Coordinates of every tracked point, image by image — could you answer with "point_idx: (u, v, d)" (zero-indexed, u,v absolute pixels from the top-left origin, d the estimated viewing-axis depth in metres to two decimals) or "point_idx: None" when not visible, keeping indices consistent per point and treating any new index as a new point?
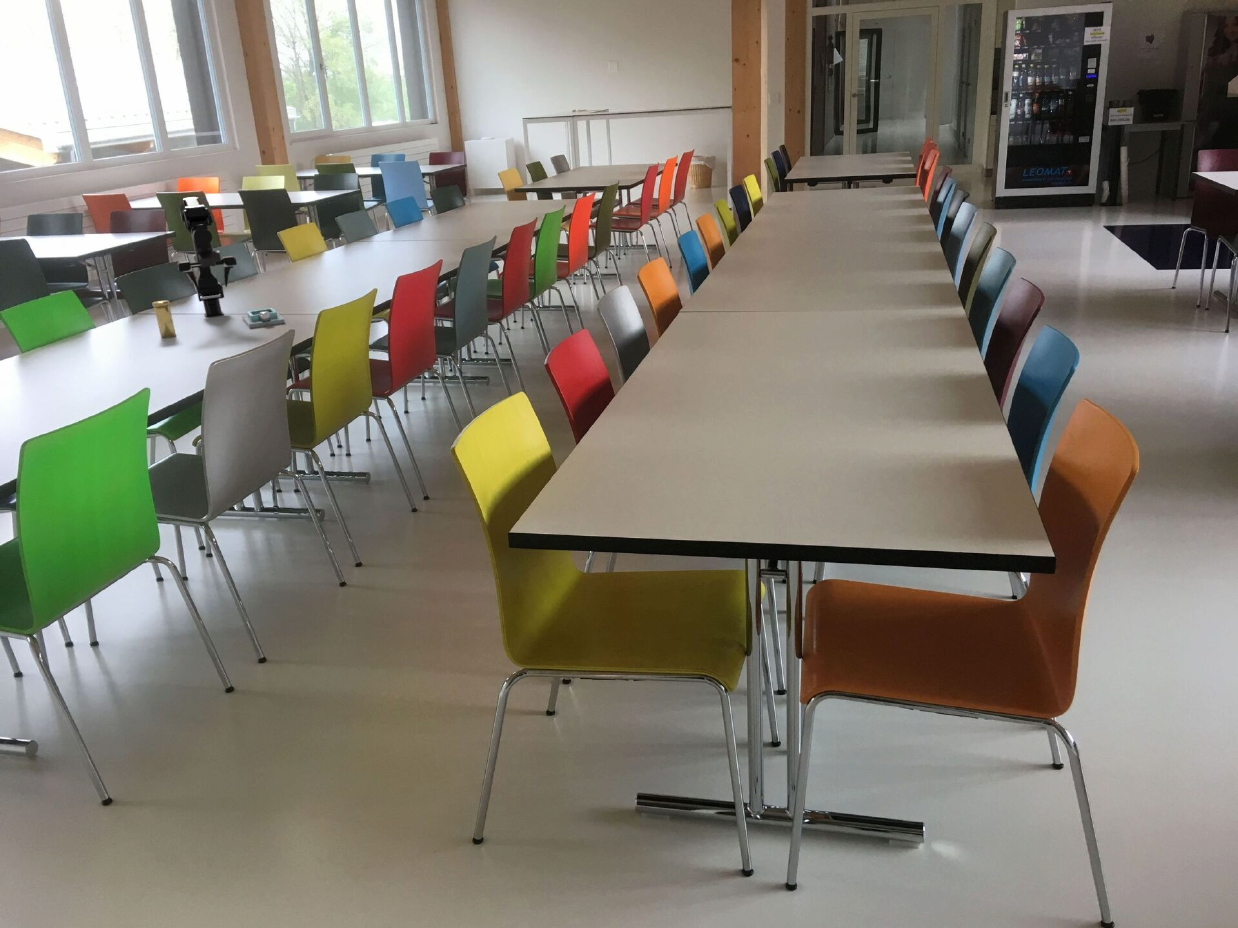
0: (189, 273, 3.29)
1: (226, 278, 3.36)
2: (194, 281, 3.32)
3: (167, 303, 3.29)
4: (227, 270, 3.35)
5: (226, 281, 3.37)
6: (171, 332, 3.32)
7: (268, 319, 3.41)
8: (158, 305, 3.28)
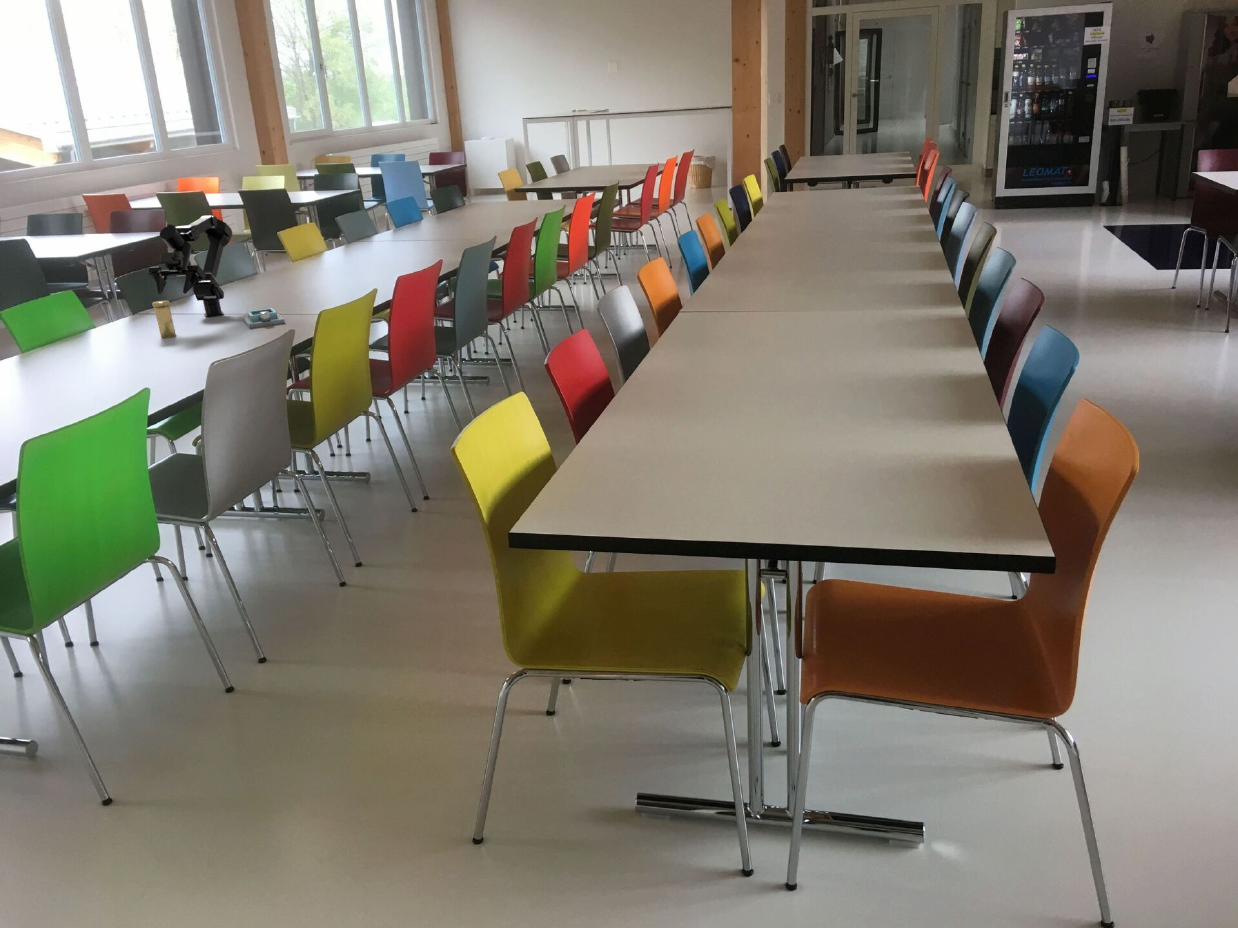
0: (154, 275, 3.37)
1: (185, 284, 3.36)
2: (157, 284, 3.37)
3: (167, 303, 3.29)
4: (188, 276, 3.36)
5: (185, 287, 3.36)
6: (171, 332, 3.32)
7: (268, 319, 3.41)
8: (158, 305, 3.28)
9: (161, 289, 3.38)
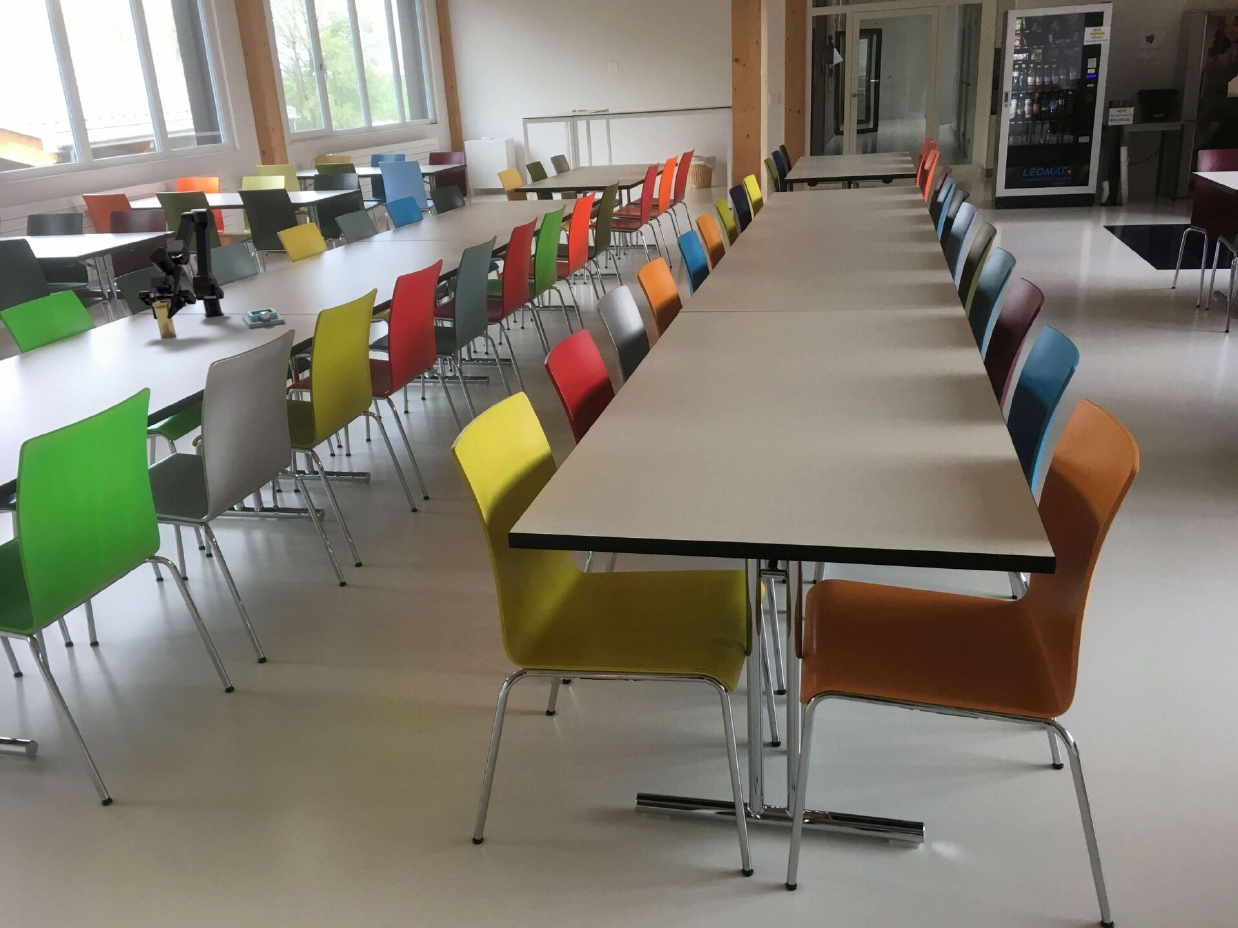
0: (150, 299, 3.31)
1: (170, 309, 3.30)
2: (153, 309, 3.31)
3: (167, 303, 3.29)
4: (173, 301, 3.31)
5: (170, 312, 3.30)
6: (171, 332, 3.32)
7: (268, 319, 3.41)
8: (158, 305, 3.28)
9: None
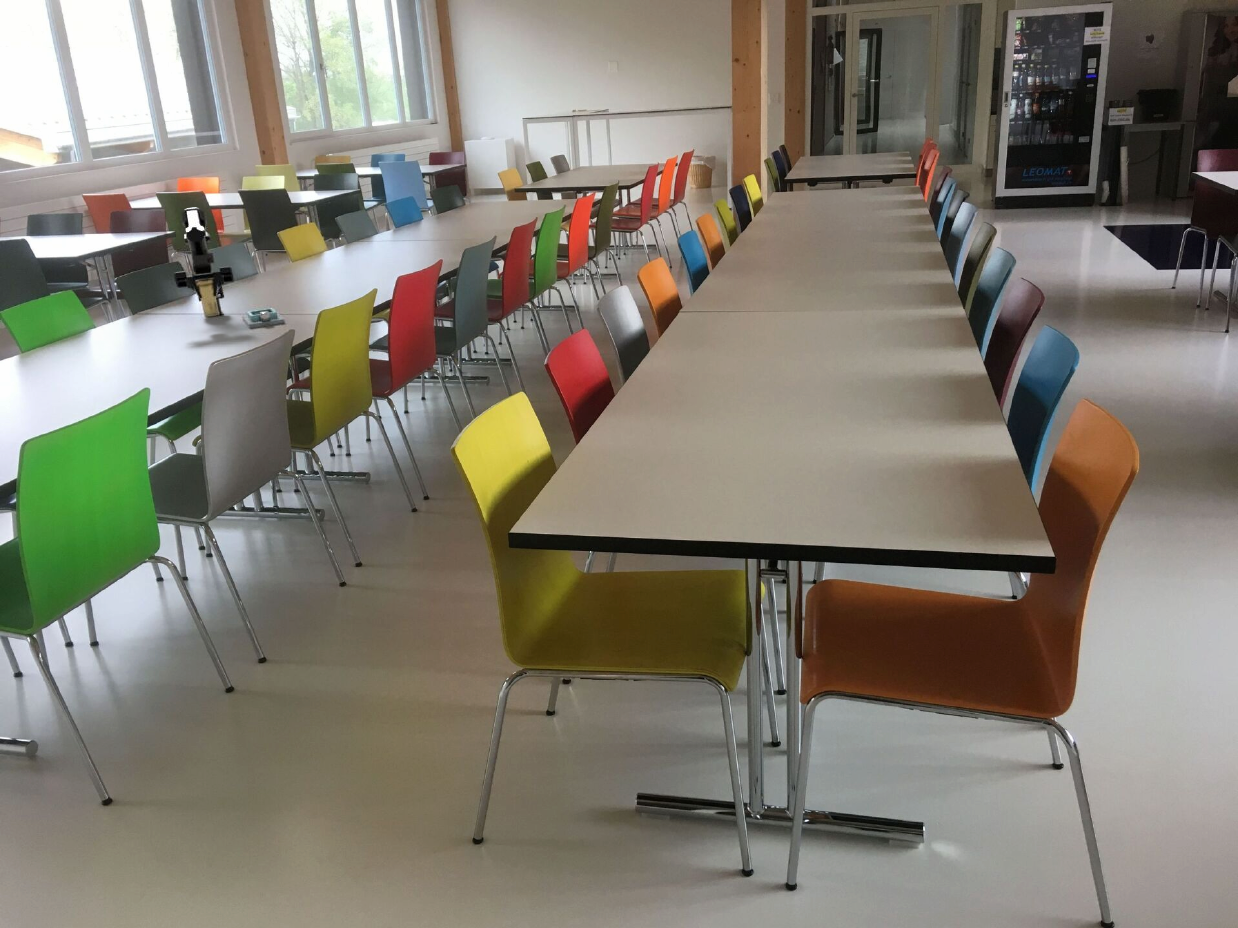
0: (190, 279, 3.30)
1: (215, 286, 3.33)
2: (195, 288, 3.31)
3: (212, 281, 3.31)
4: (216, 278, 3.33)
5: (215, 289, 3.32)
6: (217, 310, 3.34)
7: (268, 319, 3.41)
8: (206, 283, 3.29)
9: None
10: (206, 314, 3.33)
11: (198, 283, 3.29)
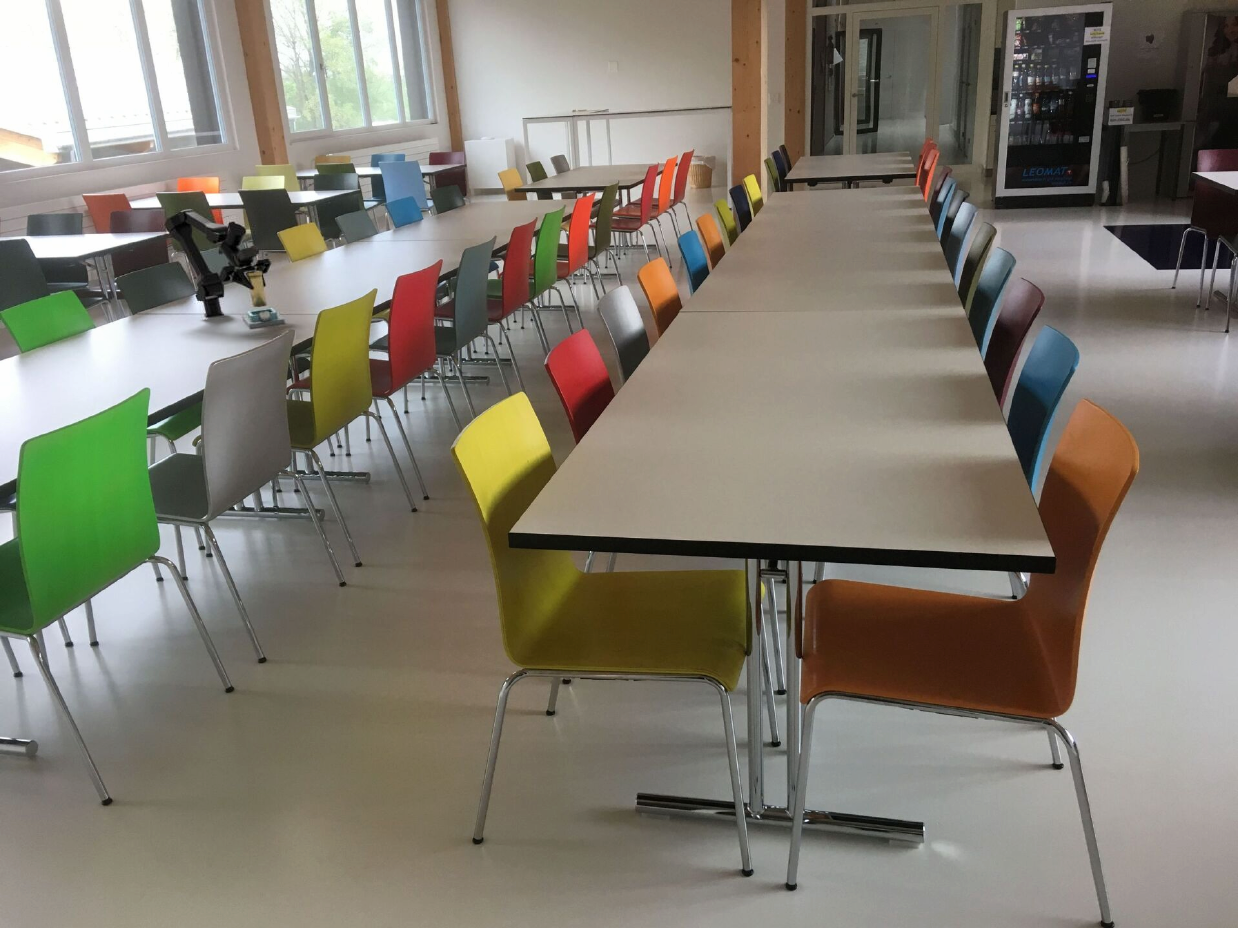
0: (240, 271, 3.39)
1: (262, 277, 3.45)
2: (246, 280, 3.40)
3: None
4: (260, 270, 3.45)
5: (263, 280, 3.45)
6: None
7: (268, 319, 3.41)
8: (259, 274, 3.41)
9: None
10: (258, 304, 3.44)
11: (252, 274, 3.39)
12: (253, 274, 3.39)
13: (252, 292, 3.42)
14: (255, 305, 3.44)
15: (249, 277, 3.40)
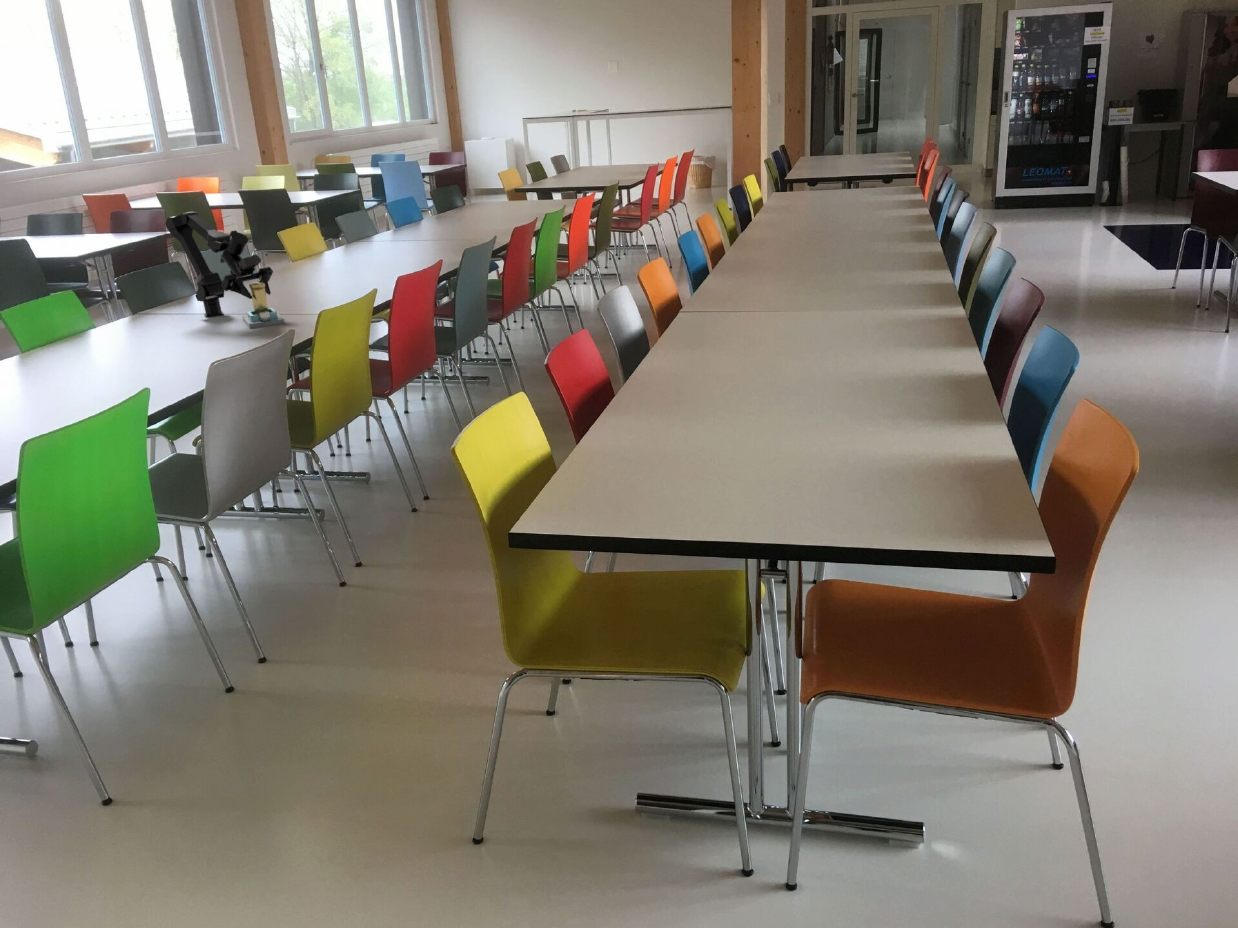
0: (239, 281, 3.39)
1: (267, 285, 3.47)
2: (245, 289, 3.40)
3: None
4: (265, 278, 3.48)
5: (268, 288, 3.47)
6: (268, 311, 3.48)
7: (268, 319, 3.41)
8: (262, 286, 3.42)
9: None
10: None
11: (255, 286, 3.41)
12: (256, 286, 3.41)
13: (255, 304, 3.44)
14: None
15: (252, 289, 3.42)
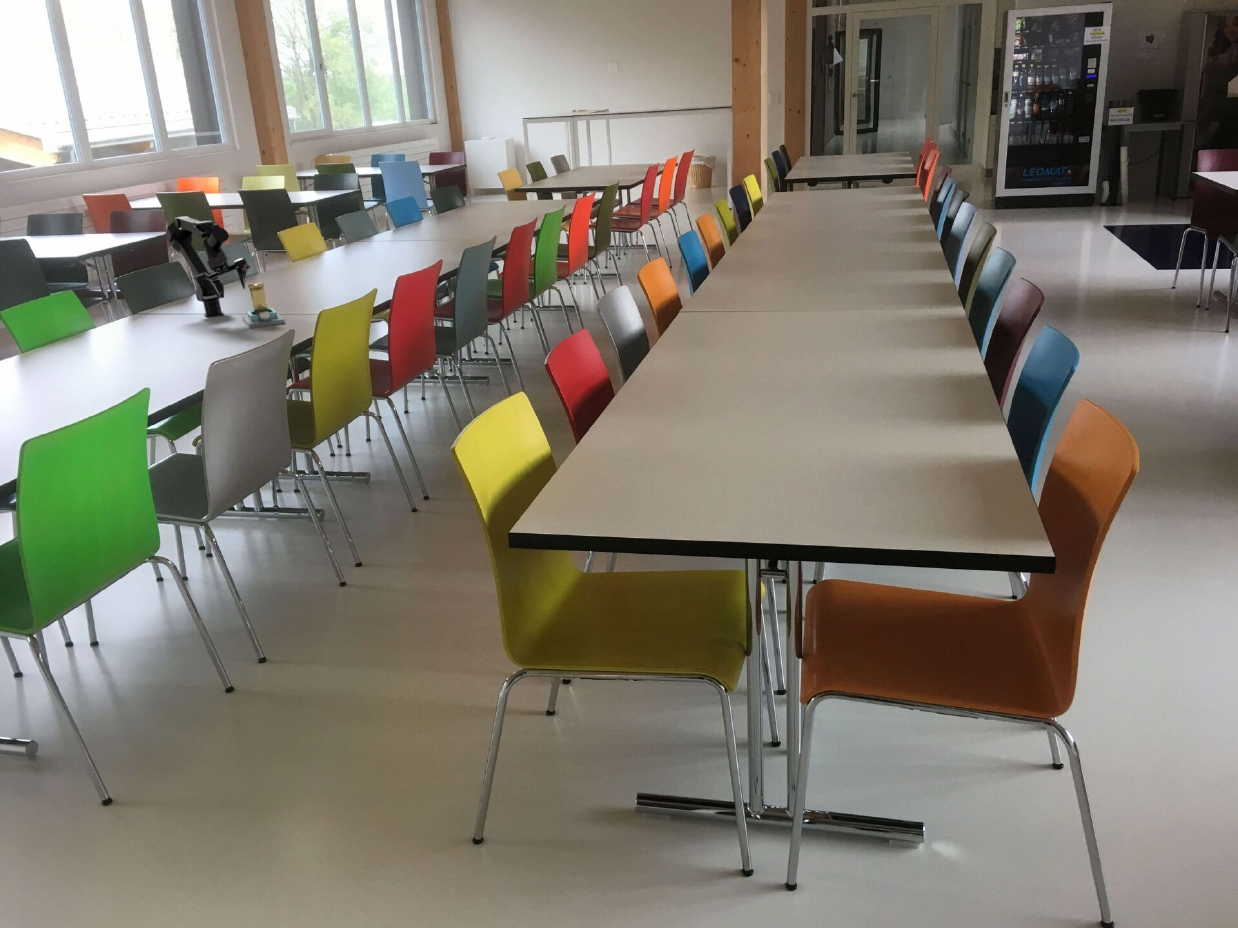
0: (206, 282, 3.45)
1: (241, 280, 3.47)
2: (213, 289, 3.46)
3: None
4: (240, 271, 3.47)
5: (242, 283, 3.47)
6: (268, 311, 3.48)
7: (268, 319, 3.41)
8: (262, 286, 3.43)
9: (218, 292, 3.48)
10: None
11: (254, 286, 3.41)
12: (255, 286, 3.41)
13: (254, 304, 3.44)
14: None
15: (251, 289, 3.42)
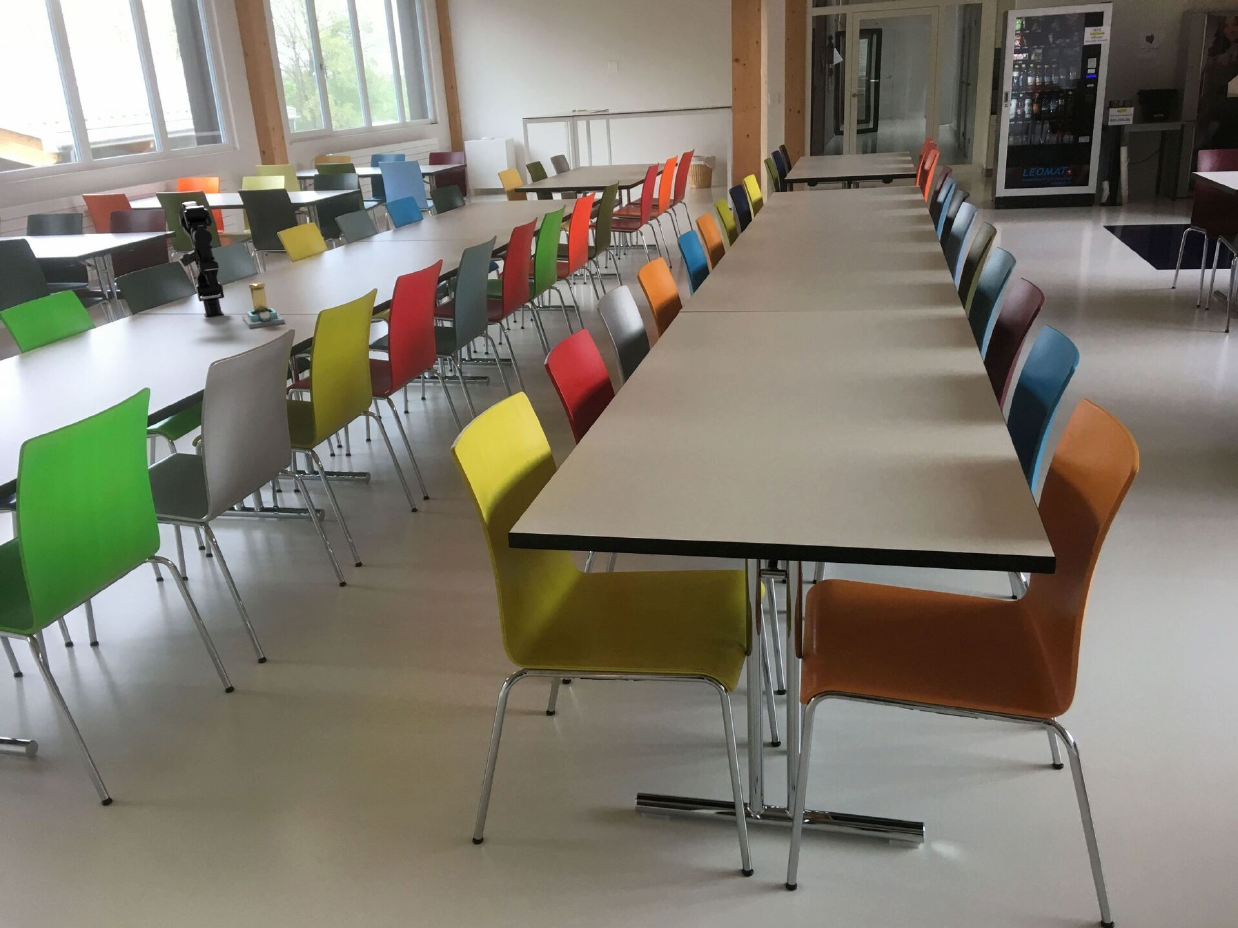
0: (198, 267, 3.50)
1: (207, 280, 3.42)
2: (204, 275, 3.50)
3: None
4: (204, 273, 3.40)
5: (209, 283, 3.43)
6: (268, 311, 3.48)
7: (268, 319, 3.41)
8: (262, 286, 3.43)
9: None
10: None
11: (255, 286, 3.41)
12: (256, 286, 3.41)
13: (255, 304, 3.44)
14: None
15: (252, 289, 3.42)
